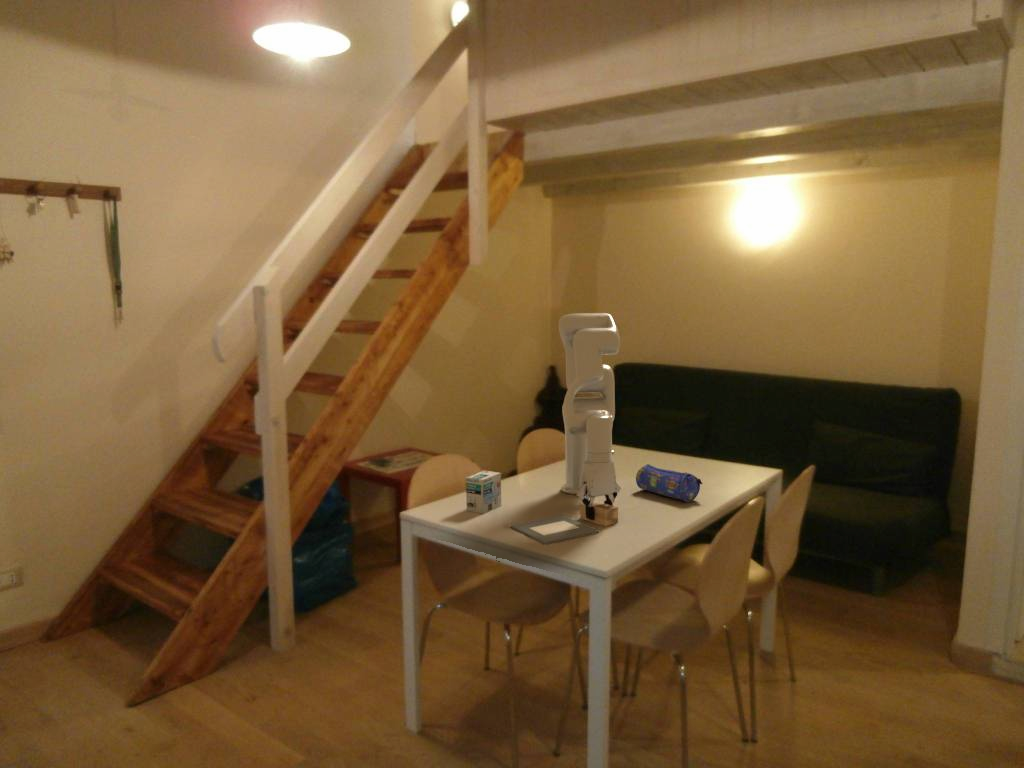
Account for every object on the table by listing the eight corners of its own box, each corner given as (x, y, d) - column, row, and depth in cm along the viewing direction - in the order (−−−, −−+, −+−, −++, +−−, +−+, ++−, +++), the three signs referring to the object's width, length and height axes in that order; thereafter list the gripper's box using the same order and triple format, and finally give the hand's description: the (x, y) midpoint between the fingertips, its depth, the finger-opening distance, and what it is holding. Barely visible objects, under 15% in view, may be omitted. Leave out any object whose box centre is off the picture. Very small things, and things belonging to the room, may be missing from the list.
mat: (562, 516, 222) (562, 514, 222) (599, 532, 207) (599, 530, 207) (510, 527, 213) (510, 525, 213) (545, 544, 198) (545, 542, 198)
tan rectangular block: (593, 514, 224) (593, 500, 223) (618, 522, 216) (618, 507, 216) (580, 518, 220) (580, 503, 220) (605, 526, 213) (605, 510, 212)
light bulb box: (483, 514, 226) (483, 479, 225) (465, 511, 230) (464, 477, 228) (502, 505, 235) (501, 472, 234) (484, 502, 239) (483, 469, 238)
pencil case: (703, 501, 236) (703, 471, 235) (685, 506, 231) (685, 476, 230) (651, 487, 254) (651, 459, 253) (633, 491, 249) (633, 463, 248)
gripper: (614, 451, 224) (614, 509, 226) (567, 458, 215) (567, 518, 217) (630, 455, 217) (630, 515, 219) (582, 463, 208) (583, 525, 211)
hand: (599, 516), depth 218 cm, fingers closed on tan rectangular block, 6 cm apart
